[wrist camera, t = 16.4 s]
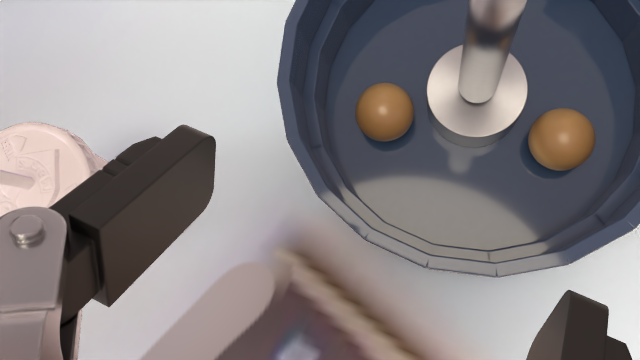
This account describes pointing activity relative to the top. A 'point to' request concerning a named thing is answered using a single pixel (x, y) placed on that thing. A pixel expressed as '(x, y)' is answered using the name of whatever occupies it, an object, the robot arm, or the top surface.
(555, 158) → the bead
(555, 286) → the top surface
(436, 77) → the silver rod with base
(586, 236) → the bowl
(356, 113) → the bead
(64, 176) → the smoothie
